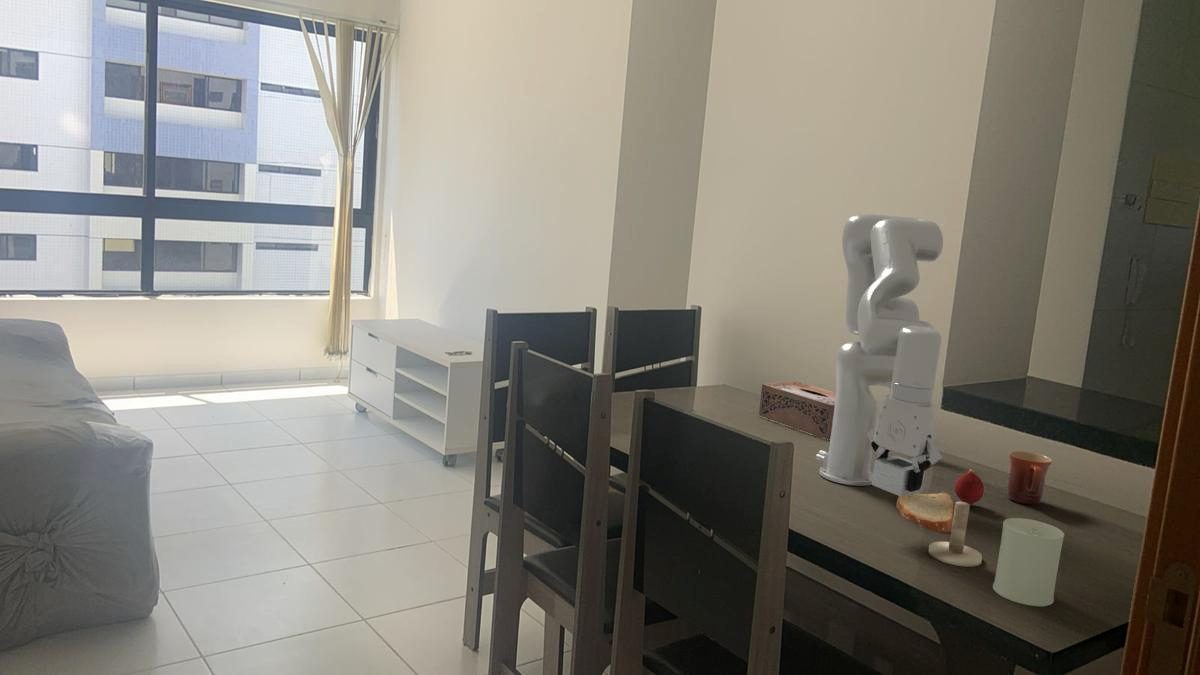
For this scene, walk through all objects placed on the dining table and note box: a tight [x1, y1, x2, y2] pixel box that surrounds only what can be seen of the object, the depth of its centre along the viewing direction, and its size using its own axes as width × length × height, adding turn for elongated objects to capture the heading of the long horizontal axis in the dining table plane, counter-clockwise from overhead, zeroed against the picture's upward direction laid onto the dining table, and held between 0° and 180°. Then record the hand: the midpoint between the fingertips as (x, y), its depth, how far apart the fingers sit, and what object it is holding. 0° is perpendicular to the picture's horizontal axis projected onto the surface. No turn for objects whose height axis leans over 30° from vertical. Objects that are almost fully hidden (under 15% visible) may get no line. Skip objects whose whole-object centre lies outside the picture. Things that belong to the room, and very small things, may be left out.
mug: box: [1006, 450, 1053, 506], centre depth 197 cm, size 12×9×10 cm
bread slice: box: [896, 491, 955, 533], centre depth 186 cm, size 18×18×4 cm
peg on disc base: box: [928, 501, 983, 568], centre depth 162 cm, size 9×9×10 cm
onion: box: [954, 468, 985, 506], centre depth 192 cm, size 6×6×8 cm
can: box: [992, 517, 1065, 607], centre depth 147 cm, size 9×9×12 cm
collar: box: [870, 454, 926, 497], centre depth 170 cm, size 7×7×5 cm
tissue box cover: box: [758, 380, 836, 441], centre depth 252 cm, size 26×14×10 cm, turn 35°
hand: (897, 483), depth 170 cm, fingers closed on collar, 6 cm apart
